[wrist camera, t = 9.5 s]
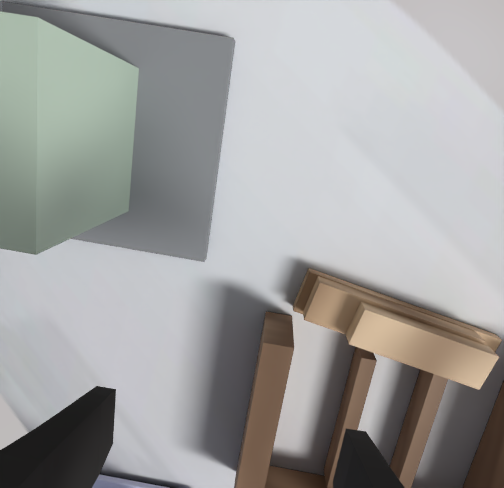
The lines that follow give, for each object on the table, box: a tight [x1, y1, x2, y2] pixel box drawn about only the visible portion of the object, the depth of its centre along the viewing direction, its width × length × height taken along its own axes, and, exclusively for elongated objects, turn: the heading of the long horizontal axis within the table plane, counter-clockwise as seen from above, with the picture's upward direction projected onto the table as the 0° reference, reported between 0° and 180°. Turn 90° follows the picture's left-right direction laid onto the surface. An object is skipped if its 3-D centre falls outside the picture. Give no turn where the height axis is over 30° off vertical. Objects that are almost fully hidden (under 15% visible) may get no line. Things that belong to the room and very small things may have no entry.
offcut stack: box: [293, 268, 502, 390], centre depth 20 cm, size 11×2×3 cm, turn 71°
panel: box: [0, 11, 139, 255], centre depth 16 cm, size 2×7×8 cm, turn 171°
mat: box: [3, 2, 235, 262], centre depth 20 cm, size 11×11×1 cm
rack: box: [234, 311, 504, 488], centre depth 22 cm, size 16×12×4 cm
